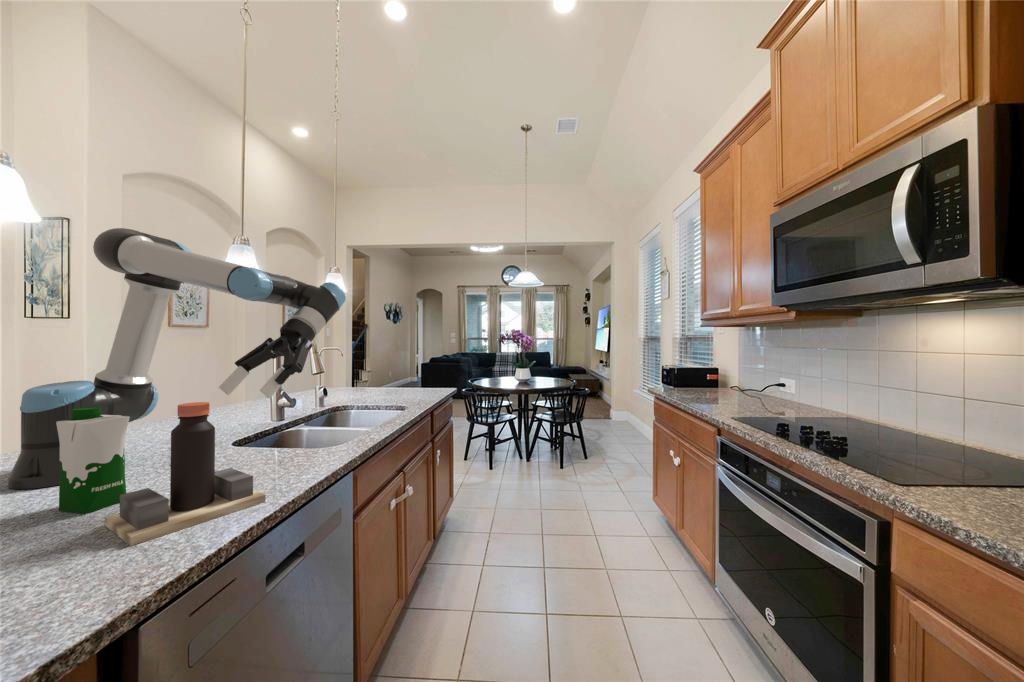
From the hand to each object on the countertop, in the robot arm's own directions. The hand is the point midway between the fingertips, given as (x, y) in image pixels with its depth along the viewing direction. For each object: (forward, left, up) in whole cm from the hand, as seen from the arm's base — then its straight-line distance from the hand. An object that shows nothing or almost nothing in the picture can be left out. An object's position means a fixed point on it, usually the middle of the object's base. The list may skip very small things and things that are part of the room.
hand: (243, 392), depth 86 cm
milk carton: (-19, -19, -23) cm, 35 cm away
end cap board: (+2, -10, -22) cm, 25 cm away
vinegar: (+2, -10, -21) cm, 23 cm away
